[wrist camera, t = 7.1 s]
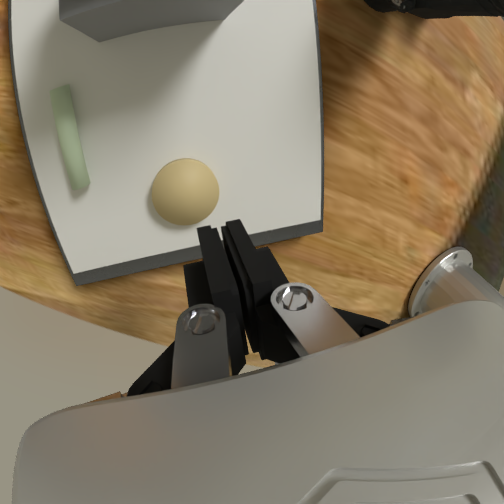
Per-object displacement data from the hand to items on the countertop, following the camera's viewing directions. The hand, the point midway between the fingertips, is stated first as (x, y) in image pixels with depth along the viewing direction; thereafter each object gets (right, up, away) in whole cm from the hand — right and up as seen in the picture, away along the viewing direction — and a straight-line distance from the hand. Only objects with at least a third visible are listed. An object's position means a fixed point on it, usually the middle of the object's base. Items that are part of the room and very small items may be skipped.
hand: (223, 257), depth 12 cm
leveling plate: (-4, +11, +4) cm, 12 cm away
